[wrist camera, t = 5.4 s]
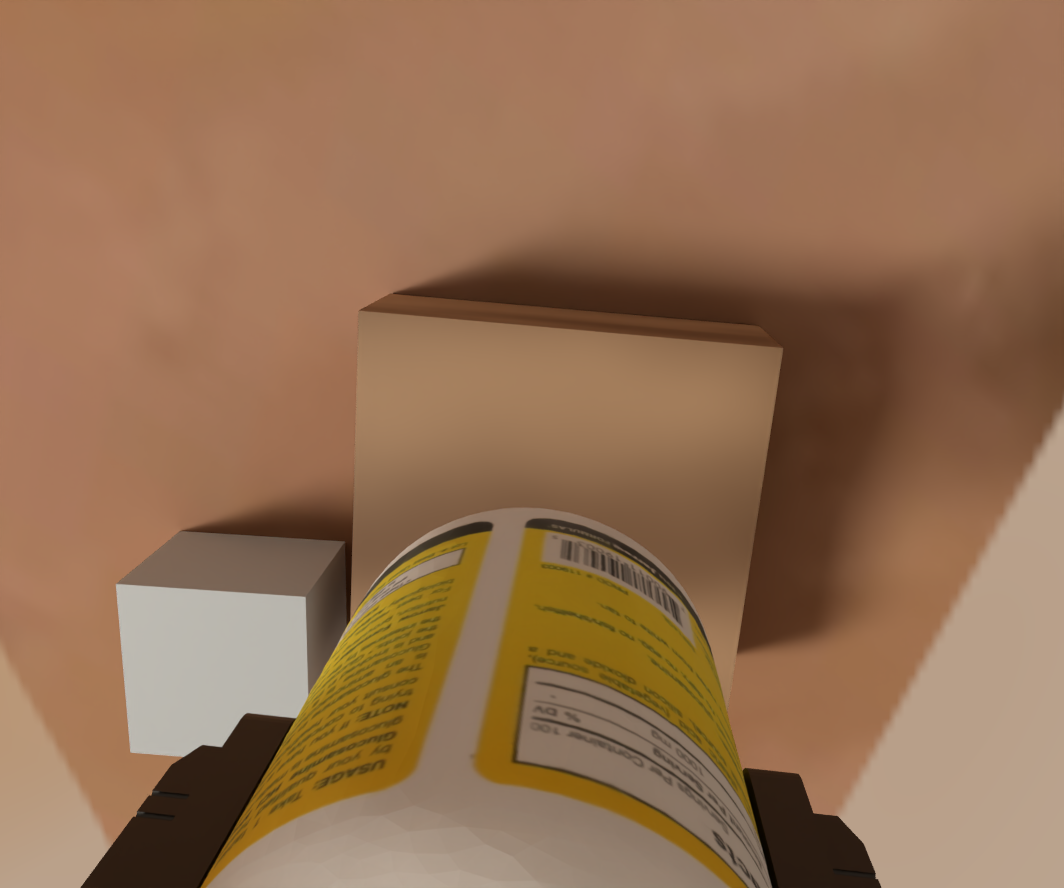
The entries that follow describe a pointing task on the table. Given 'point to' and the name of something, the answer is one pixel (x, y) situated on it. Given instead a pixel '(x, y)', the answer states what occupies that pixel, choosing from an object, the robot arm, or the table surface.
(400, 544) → the walnut block
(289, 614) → the slate block
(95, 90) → the table surface
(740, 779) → the pill bottle
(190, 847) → the robot arm
